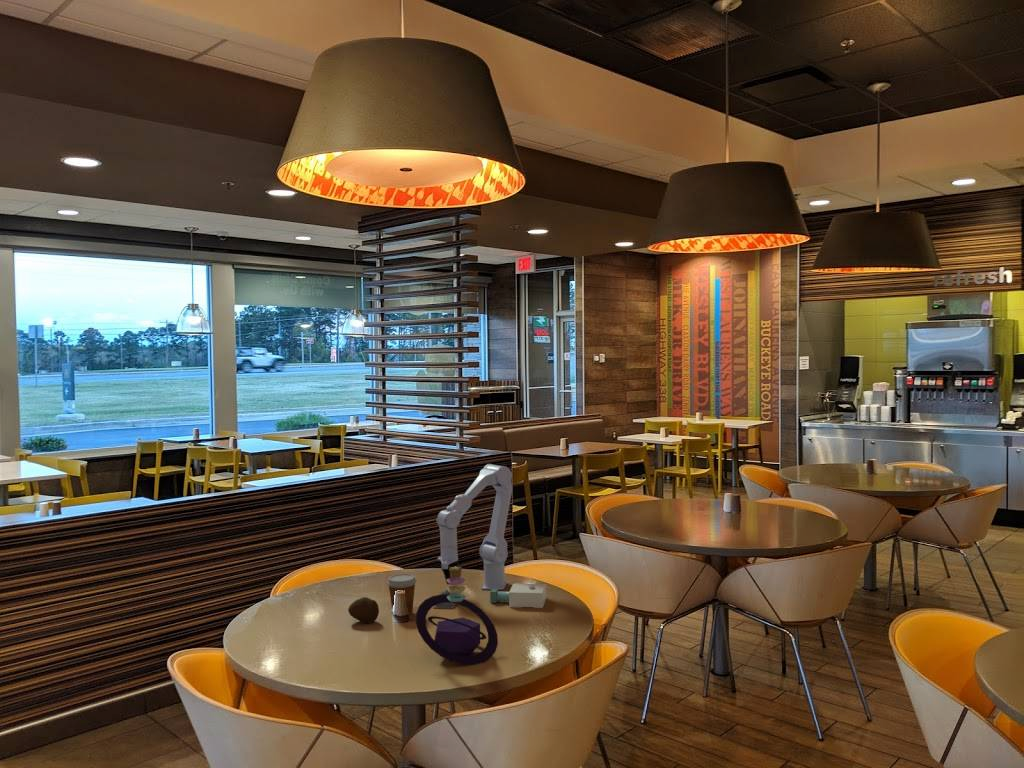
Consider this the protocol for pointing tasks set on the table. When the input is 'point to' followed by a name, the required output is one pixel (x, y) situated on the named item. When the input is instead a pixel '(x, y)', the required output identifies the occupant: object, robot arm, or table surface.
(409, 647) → the table surface
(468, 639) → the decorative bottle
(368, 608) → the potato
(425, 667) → the table surface
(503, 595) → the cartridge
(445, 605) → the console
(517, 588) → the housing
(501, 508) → the robot arm
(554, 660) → the table surface
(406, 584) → the disposable coffee cup
